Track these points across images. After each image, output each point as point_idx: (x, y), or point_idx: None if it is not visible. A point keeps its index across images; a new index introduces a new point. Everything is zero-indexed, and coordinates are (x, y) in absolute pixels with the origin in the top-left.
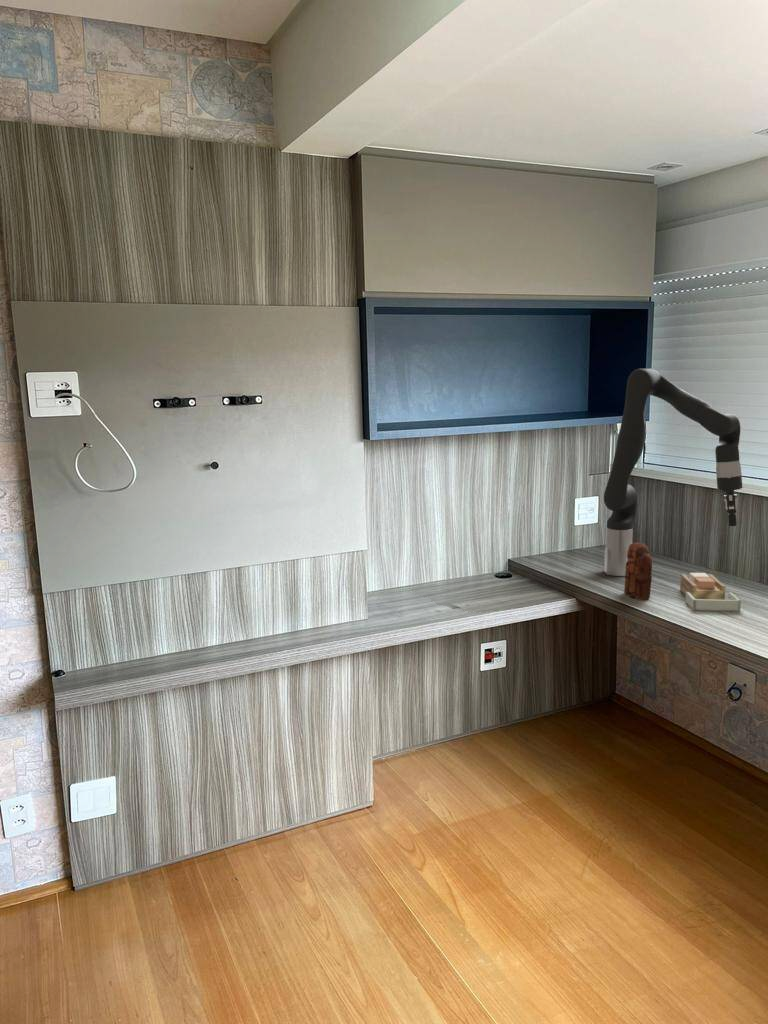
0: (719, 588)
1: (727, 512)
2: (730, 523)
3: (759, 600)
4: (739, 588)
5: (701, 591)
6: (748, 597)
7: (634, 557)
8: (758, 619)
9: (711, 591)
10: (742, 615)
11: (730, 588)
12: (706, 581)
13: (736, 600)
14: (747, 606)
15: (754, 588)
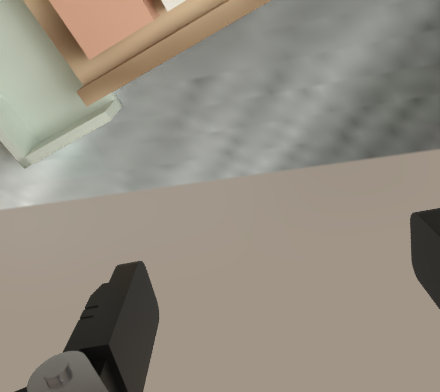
0: (102, 74)
1: (45, 378)
2: (92, 295)
3: (216, 179)
4: (357, 93)
5: (27, 5)
6: (236, 144)
7: None
8: (4, 206)
9: (58, 47)
10: (7, 163)
11: (342, 60)
12: (63, 20)
13: (15, 155)
14: (119, 159)
15: (379, 141)
